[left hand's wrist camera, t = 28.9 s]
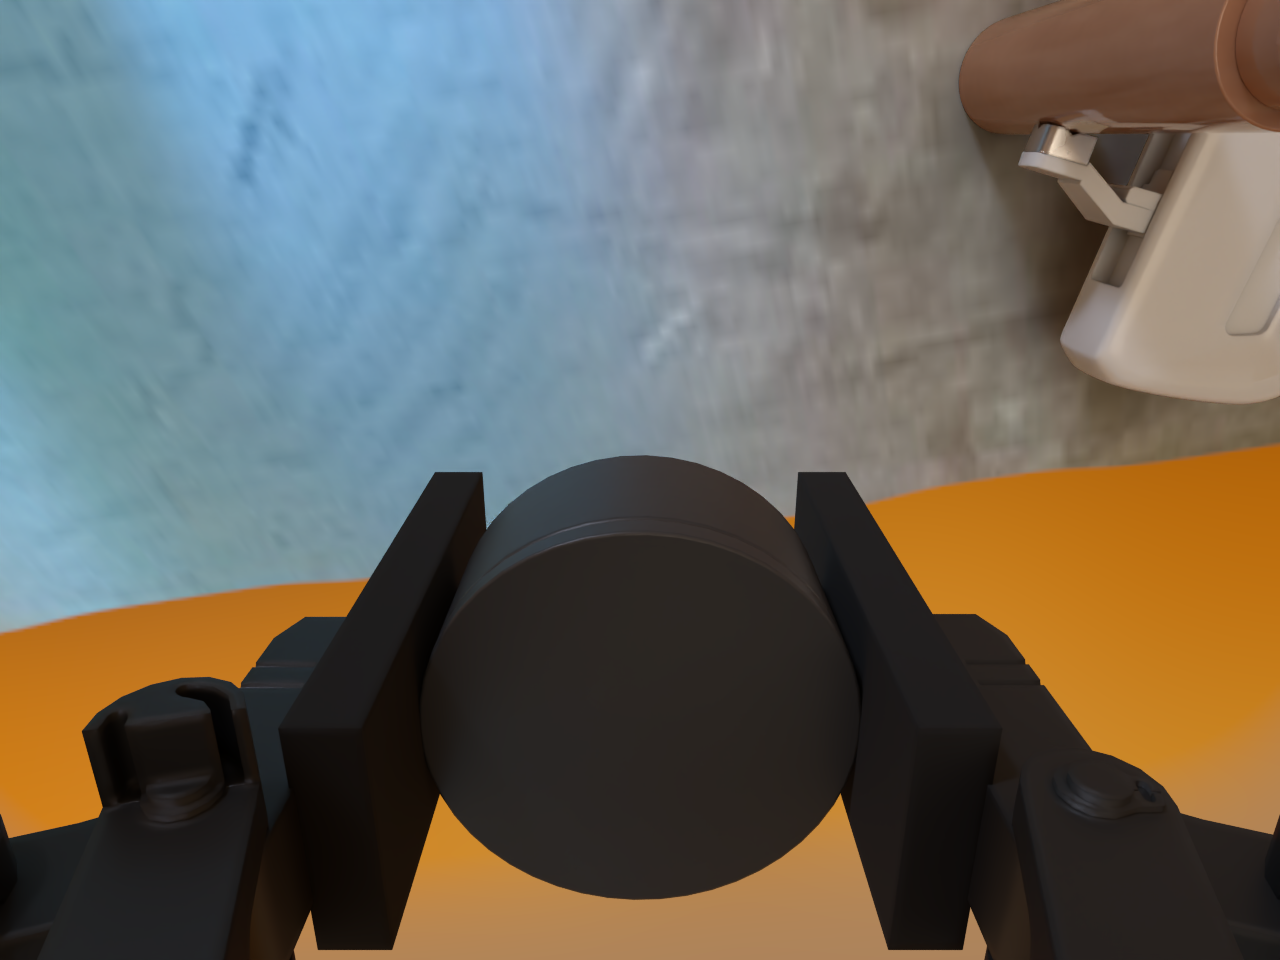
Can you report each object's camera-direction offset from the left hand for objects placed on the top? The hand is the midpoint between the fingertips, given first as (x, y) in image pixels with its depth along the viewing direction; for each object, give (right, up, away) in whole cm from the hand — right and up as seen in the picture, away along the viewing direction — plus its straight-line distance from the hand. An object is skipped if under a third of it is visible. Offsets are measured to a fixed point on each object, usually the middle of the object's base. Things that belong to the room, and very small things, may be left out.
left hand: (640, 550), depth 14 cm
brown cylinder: (+16, +18, +22) cm, 32 cm away
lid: (0, -2, -4) cm, 4 cm away
